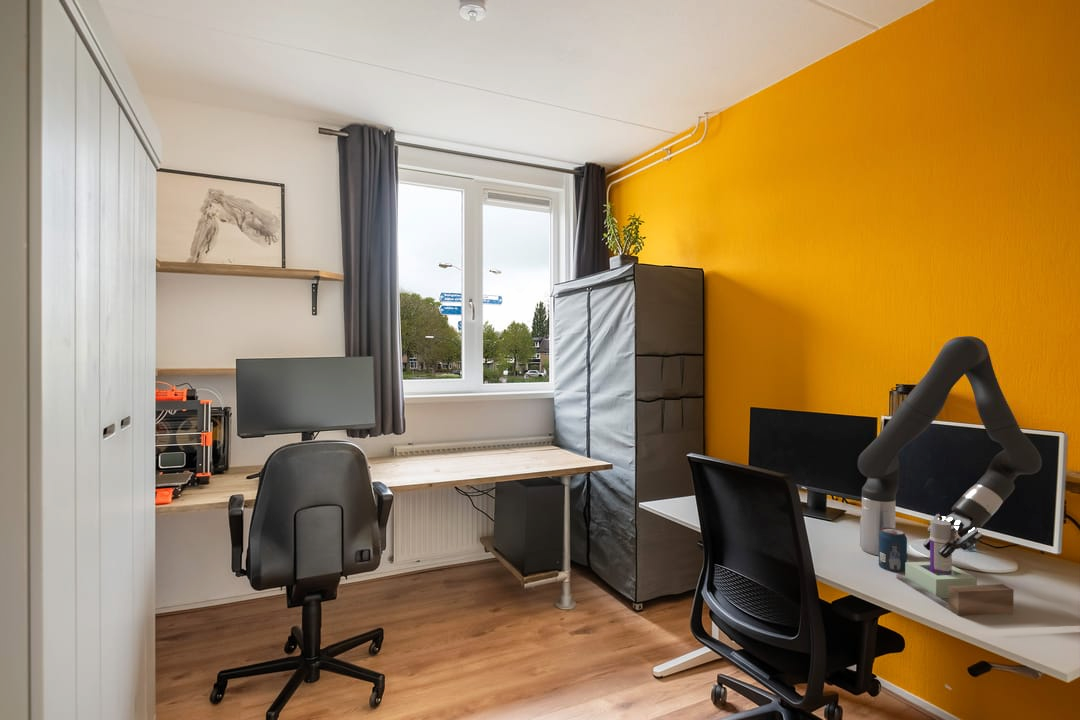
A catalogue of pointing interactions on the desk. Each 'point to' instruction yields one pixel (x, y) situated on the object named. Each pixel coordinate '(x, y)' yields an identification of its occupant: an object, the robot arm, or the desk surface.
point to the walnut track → (972, 598)
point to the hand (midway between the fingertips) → (934, 551)
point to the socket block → (936, 578)
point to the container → (939, 547)
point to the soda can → (892, 549)
